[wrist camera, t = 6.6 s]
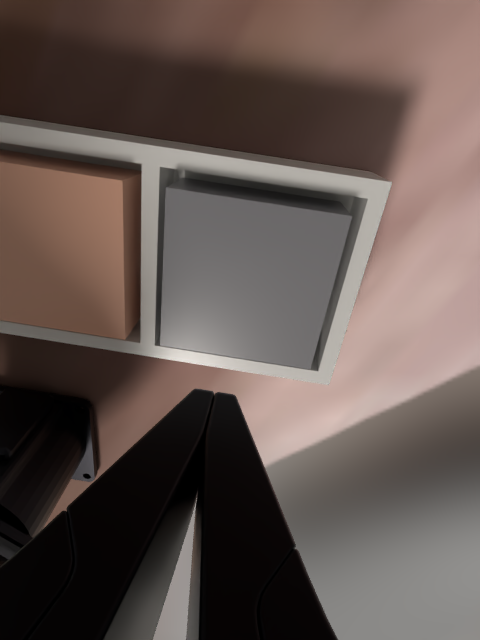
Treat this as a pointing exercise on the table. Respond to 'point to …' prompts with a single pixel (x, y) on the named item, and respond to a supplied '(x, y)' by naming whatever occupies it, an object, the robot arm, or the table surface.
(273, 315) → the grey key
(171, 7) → the table surface
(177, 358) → the light grey divided tray
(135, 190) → the terracotta key
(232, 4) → the table surface
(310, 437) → the table surface
